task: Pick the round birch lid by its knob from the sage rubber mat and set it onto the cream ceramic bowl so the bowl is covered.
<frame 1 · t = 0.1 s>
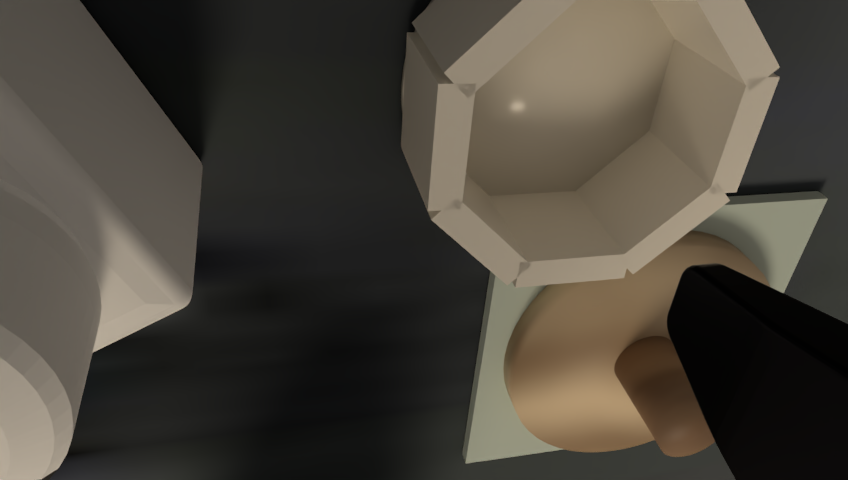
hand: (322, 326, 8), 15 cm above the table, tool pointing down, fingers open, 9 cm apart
bowl: (546, 83, 23), on the table
mat: (626, 332, 31), on the table
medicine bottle: (33, 122, 20), on the table
lid: (632, 341, 31), point 1 cm above the table, touching mat
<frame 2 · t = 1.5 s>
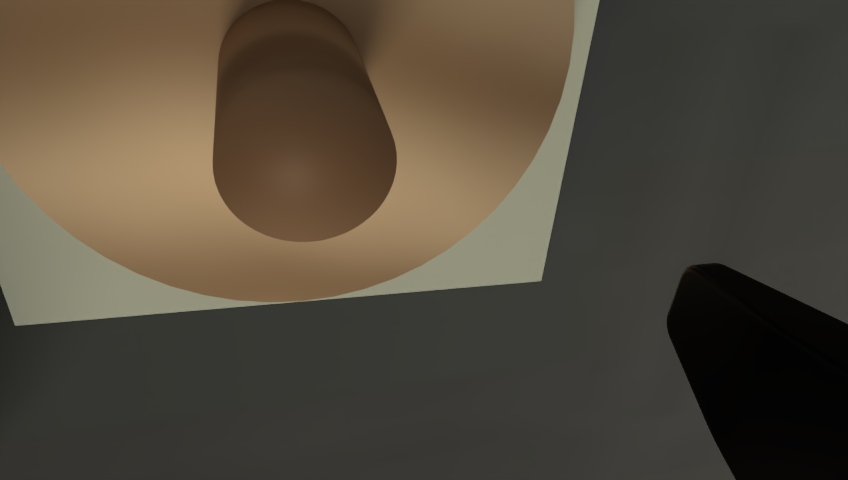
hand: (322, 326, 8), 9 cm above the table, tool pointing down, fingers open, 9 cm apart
mat: (285, 40, 15), on the table
lid: (287, 49, 15), point 1 cm above the table, touching mat
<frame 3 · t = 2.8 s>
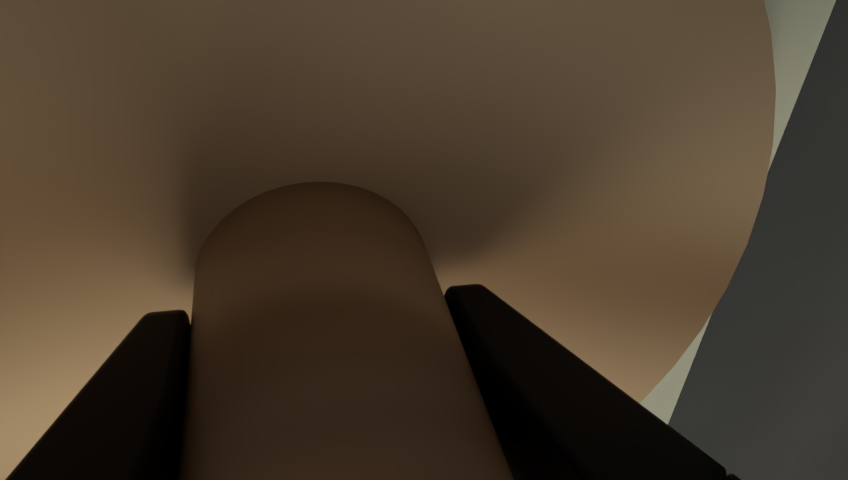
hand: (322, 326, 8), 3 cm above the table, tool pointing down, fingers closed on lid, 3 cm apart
mat: (304, 204, 10), on the table
lid: (307, 227, 9), point 1 cm above the table, touching gripper, mat
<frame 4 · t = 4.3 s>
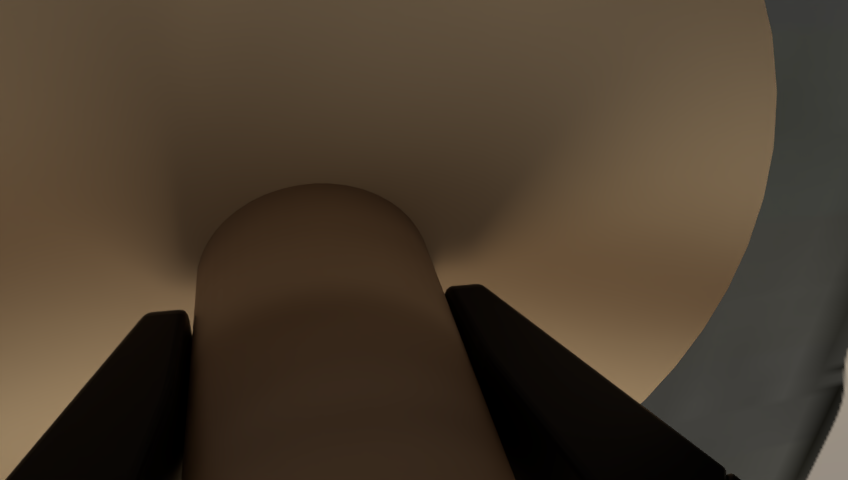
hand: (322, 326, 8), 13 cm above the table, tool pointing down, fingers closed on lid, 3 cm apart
lid: (309, 228, 9), point 11 cm above the table, touching gripper
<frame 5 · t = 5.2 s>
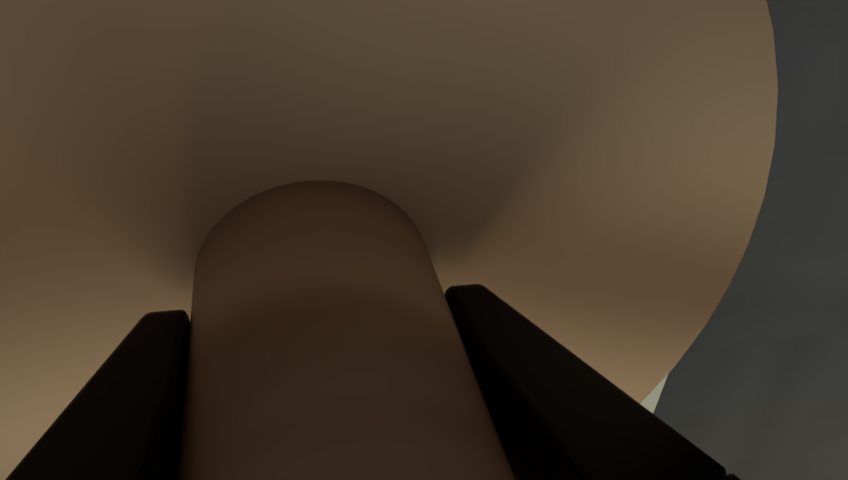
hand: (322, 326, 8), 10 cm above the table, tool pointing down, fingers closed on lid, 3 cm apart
mat: (476, 380, 24), on the table
lid: (307, 226, 9), point 8 cm above the table, touching gripper
when the fingers open (8 cm above the table, at t = 5.7 s): lid drops 1 cm, resting on bowl.
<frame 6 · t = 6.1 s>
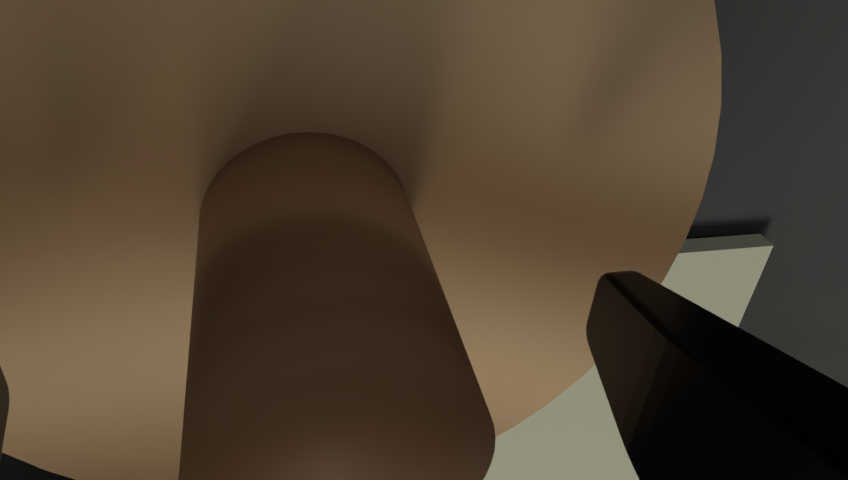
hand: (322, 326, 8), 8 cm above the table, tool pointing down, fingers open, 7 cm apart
mat: (493, 429, 22), on the table
lid: (301, 182, 10), point 4 cm above the table, touching bowl
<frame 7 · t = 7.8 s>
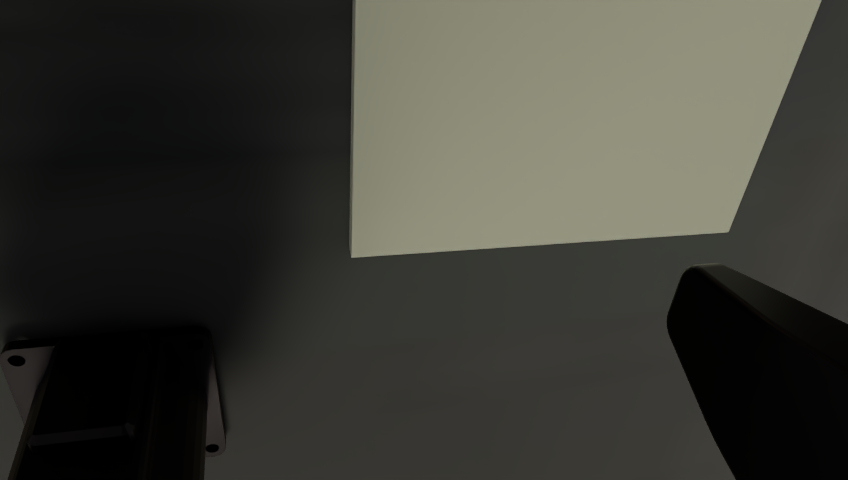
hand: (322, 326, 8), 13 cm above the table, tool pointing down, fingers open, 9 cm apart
mat: (587, 41, 20), on the table
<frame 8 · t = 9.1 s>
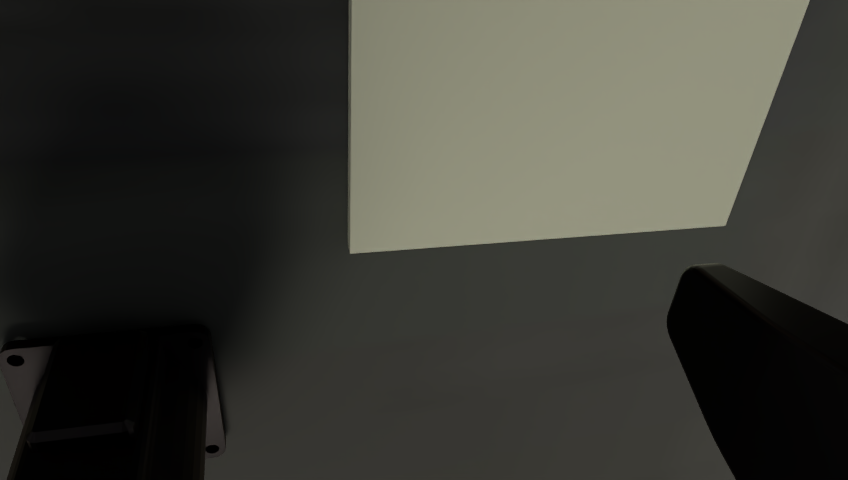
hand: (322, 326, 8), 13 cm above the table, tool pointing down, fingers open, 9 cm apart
mat: (581, 35, 21), on the table
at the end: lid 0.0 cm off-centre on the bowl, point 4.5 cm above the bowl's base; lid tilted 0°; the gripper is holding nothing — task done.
